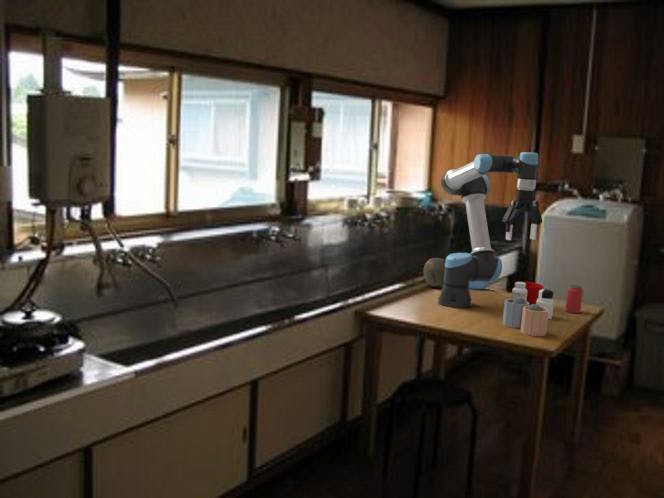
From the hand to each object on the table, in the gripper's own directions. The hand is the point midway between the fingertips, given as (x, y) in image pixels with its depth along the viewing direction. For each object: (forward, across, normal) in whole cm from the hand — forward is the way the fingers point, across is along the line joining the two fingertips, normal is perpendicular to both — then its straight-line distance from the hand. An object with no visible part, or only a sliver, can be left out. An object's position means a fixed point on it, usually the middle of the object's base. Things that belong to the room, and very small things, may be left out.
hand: (520, 239), depth 312 cm
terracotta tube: (+35, -7, -20) cm, 41 cm away
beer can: (+35, +39, +3) cm, 52 cm away
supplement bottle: (+35, +14, +12) cm, 39 cm away
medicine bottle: (+35, +18, 0) cm, 39 cm away
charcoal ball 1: (+28, -7, -7) cm, 29 cm away
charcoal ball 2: (+28, -7, -21) cm, 36 cm away
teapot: (+35, +26, +58) cm, 73 cm away
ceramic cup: (+35, +27, +21) cm, 49 cm away
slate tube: (+35, -6, -8) cm, 36 cm away
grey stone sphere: (+35, +6, +64) cm, 73 cm away
